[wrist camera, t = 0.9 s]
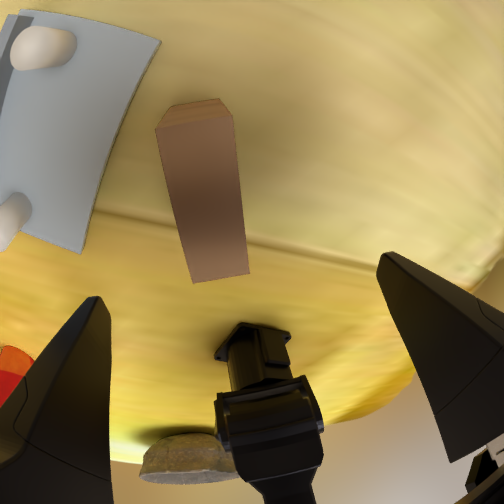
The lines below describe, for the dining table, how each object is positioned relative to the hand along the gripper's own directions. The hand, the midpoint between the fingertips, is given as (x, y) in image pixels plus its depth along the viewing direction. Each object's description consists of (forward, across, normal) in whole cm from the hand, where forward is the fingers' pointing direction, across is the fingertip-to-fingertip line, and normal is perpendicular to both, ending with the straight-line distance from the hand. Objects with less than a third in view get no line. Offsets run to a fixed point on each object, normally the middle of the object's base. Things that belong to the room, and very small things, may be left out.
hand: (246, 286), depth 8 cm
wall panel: (+12, +12, -4) cm, 17 cm away
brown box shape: (+12, +1, 0) cm, 12 cm away
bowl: (+13, +14, +53) cm, 56 cm away
